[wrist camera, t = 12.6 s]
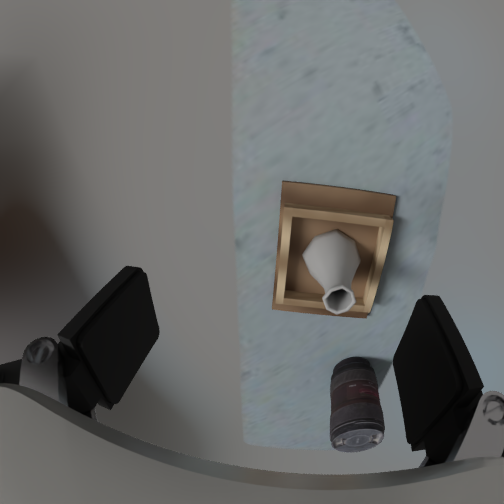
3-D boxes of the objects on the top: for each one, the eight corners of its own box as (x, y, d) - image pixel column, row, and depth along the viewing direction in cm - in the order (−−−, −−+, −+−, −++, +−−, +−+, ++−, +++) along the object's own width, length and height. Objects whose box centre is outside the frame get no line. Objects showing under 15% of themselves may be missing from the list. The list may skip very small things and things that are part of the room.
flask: (369, 260, 34) (388, 304, 25) (325, 290, 37) (330, 340, 28) (337, 218, 32) (349, 252, 23) (291, 252, 35) (287, 296, 26)
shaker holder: (282, 180, 33) (280, 185, 30) (394, 194, 31) (401, 200, 28) (272, 306, 40) (270, 317, 38) (365, 315, 38) (368, 326, 36)
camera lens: (374, 349, 41) (388, 424, 27) (374, 378, 44) (383, 448, 30) (326, 357, 43) (327, 434, 29) (331, 386, 46) (331, 456, 32)
